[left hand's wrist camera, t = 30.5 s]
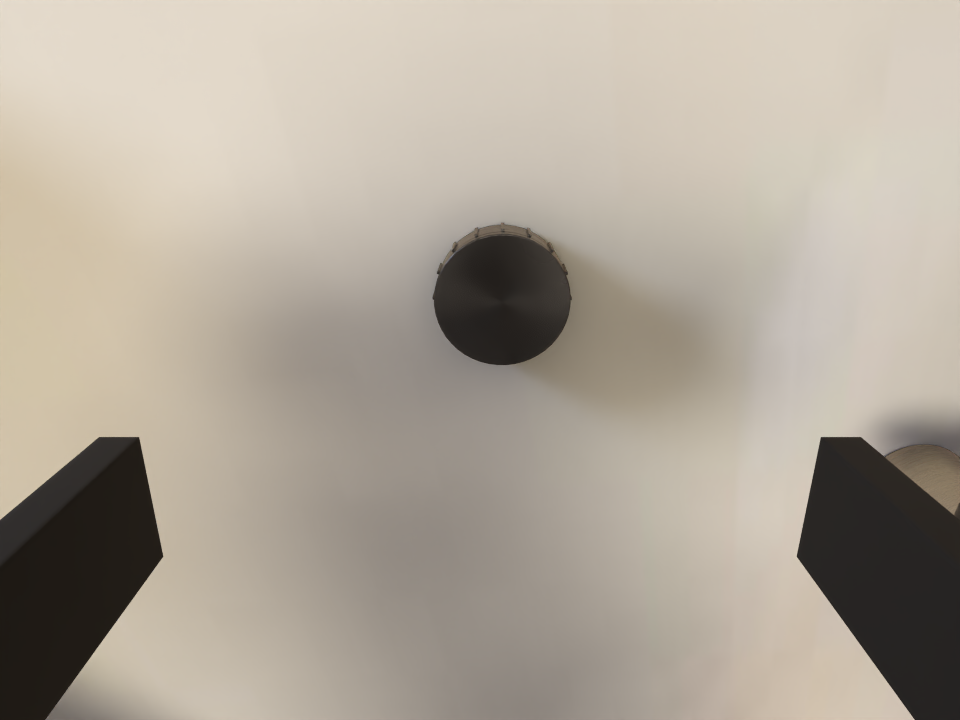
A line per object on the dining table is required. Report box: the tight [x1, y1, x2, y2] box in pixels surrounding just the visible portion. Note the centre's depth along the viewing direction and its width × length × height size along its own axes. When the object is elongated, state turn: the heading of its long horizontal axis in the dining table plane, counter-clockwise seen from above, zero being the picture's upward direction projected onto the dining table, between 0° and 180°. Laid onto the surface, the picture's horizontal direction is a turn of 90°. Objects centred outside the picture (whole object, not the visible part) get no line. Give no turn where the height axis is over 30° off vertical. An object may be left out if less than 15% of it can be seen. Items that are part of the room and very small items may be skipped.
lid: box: [433, 223, 572, 365], centre depth 23 cm, size 5×5×2 cm
